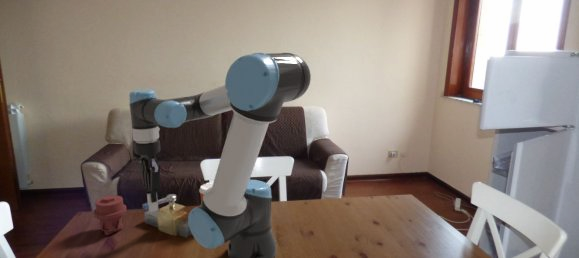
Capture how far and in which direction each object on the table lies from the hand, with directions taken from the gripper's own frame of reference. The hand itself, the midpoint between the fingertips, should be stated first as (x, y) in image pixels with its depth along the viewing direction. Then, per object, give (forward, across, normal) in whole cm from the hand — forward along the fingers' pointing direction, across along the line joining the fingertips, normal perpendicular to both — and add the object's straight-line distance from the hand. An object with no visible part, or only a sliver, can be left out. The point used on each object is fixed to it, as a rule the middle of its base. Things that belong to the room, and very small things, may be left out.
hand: (153, 210), depth 119 cm
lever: (-1, +2, -3) cm, 4 cm away
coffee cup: (+11, -4, -19) cm, 22 cm away
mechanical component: (+10, +15, +10) cm, 20 cm away
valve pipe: (+10, +4, -6) cm, 13 cm away
